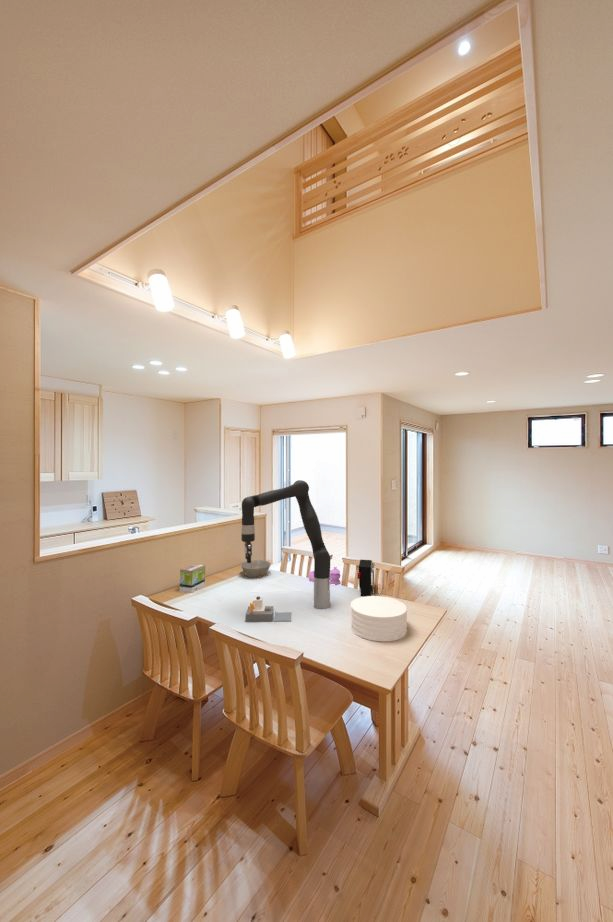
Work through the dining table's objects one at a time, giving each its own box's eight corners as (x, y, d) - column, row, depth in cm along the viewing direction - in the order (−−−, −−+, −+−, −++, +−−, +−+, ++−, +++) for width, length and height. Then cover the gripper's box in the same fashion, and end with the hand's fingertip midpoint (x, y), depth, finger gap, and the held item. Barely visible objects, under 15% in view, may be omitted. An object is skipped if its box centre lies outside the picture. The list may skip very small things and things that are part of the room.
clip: (255, 605, 206) (255, 595, 206) (252, 614, 194) (252, 603, 194) (252, 605, 206) (252, 595, 206) (249, 614, 194) (249, 603, 194)
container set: (304, 582, 260) (304, 563, 260) (319, 577, 271) (319, 559, 271) (332, 590, 243) (332, 570, 243) (346, 585, 254) (346, 566, 254)
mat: (291, 613, 206) (291, 612, 206) (291, 621, 195) (291, 620, 195) (275, 613, 206) (275, 612, 206) (274, 621, 195) (274, 620, 195)
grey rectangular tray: (273, 613, 206) (273, 605, 206) (272, 621, 195) (272, 613, 195) (248, 613, 205) (248, 605, 205) (245, 621, 194) (245, 613, 194)
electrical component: (374, 600, 226) (374, 567, 226) (357, 598, 228) (357, 566, 228) (374, 590, 243) (374, 560, 243) (359, 589, 245) (359, 559, 245)
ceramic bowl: (259, 571, 287) (259, 558, 287) (276, 578, 269) (276, 564, 269) (234, 576, 272) (234, 563, 272) (250, 584, 255) (250, 570, 255)
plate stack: (368, 612, 207) (368, 592, 207) (415, 626, 190) (415, 604, 190) (339, 630, 186) (340, 607, 186) (390, 647, 168) (390, 622, 168)
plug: (265, 614, 204) (265, 594, 204) (264, 620, 197) (264, 599, 197) (252, 615, 203) (252, 594, 203) (250, 620, 196) (250, 599, 196)
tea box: (192, 593, 237) (192, 570, 237) (179, 591, 240) (179, 569, 240) (205, 586, 251) (205, 564, 251) (193, 584, 254) (193, 563, 255)
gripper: (256, 534, 204) (256, 563, 204) (253, 530, 218) (253, 557, 218) (242, 535, 202) (242, 564, 202) (240, 530, 216) (240, 558, 216)
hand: (248, 561), depth 210 cm, fingers open, 8 cm apart
